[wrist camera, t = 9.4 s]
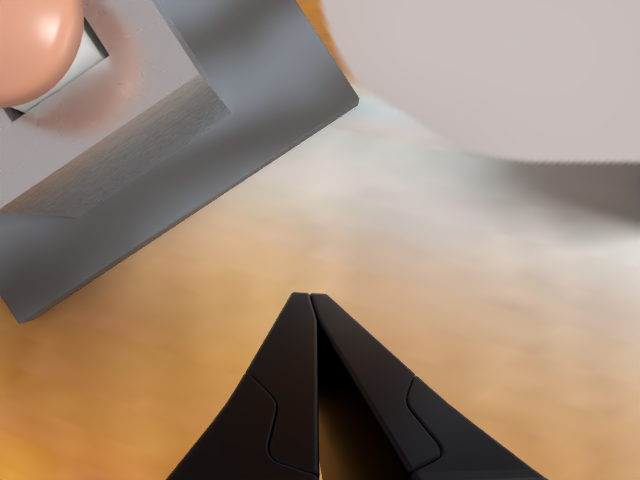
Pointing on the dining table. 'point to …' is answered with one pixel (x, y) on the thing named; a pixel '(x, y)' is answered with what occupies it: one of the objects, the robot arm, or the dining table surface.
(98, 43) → the terracotta plug
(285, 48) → the slate board
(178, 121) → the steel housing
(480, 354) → the dining table surface
